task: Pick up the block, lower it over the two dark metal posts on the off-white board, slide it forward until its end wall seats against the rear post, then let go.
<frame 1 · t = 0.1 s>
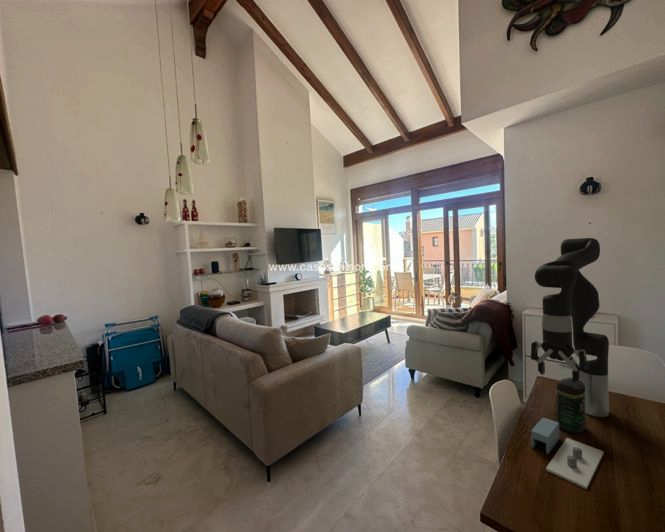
hand: (558, 377, 95), 29 cm above the table, fingers open, 8 cm apart
block: (545, 442, 107), on the table
board: (575, 461, 97), on the table
coffee jar: (571, 427, 114), on the table
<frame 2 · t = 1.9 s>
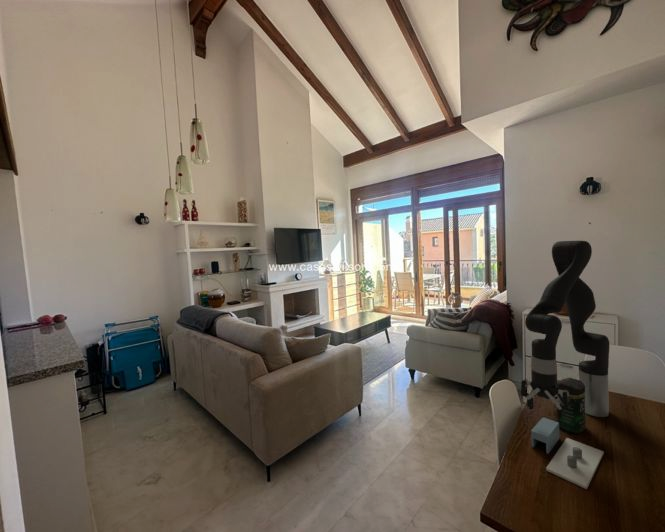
hand: (544, 413, 106), 11 cm above the table, fingers open, 8 cm apart
nothing on the table moved.
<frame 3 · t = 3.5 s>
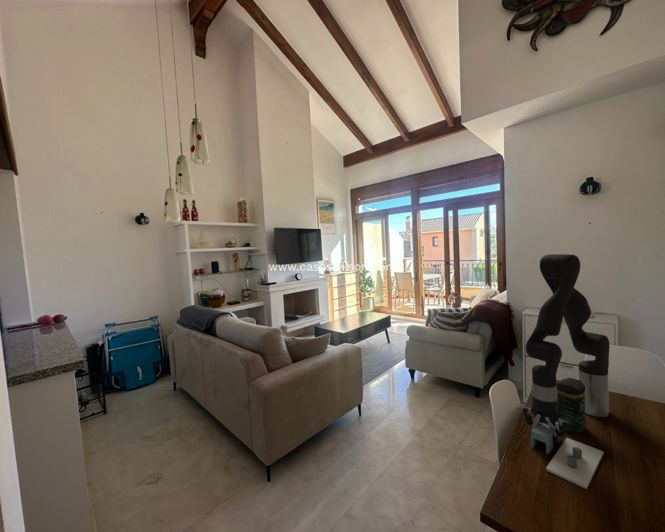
hand: (545, 440, 107), 1 cm above the table, fingers closed on block, 5 cm apart
block: (545, 442, 107), on the table, touching gripper
everything else where it was.
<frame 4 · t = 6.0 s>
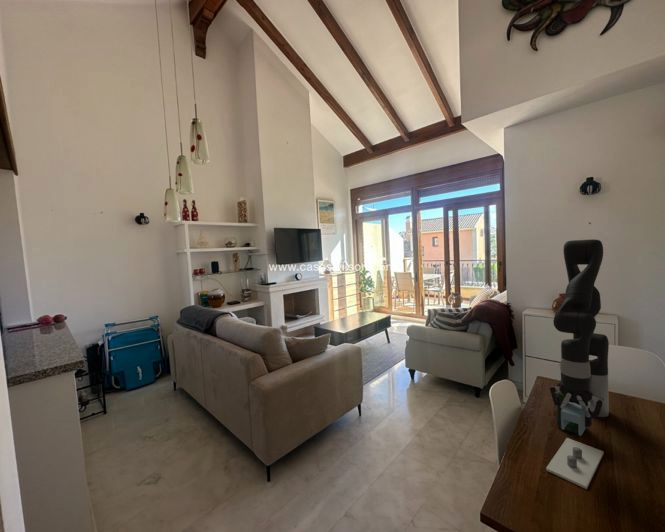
hand: (576, 422, 97), 13 cm above the table, fingers closed on block, 5 cm apart
block: (576, 424, 97), point 12 cm above the table, touching gripper
everything else where it was.
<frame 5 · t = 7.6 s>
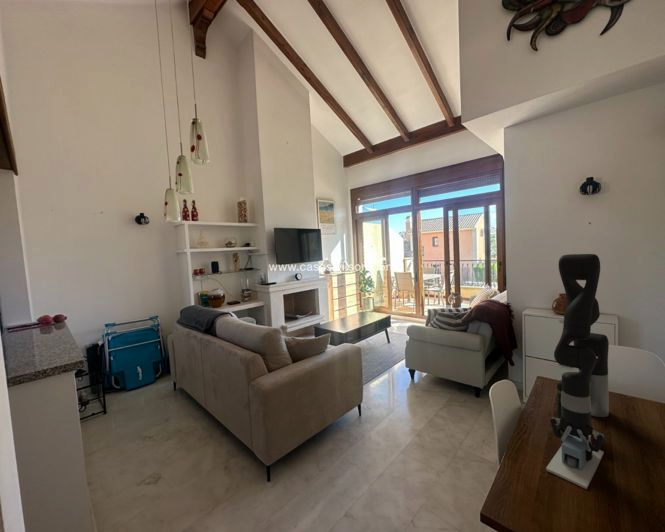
hand: (576, 455, 98), 2 cm above the table, fingers closed on block, 5 cm apart
block: (576, 457, 98), point 1 cm above the table, touching gripper
everything else where it was.
when the fingers open (2 cm above the table, at t = 8.7 s): block stays where it is, resting on board.
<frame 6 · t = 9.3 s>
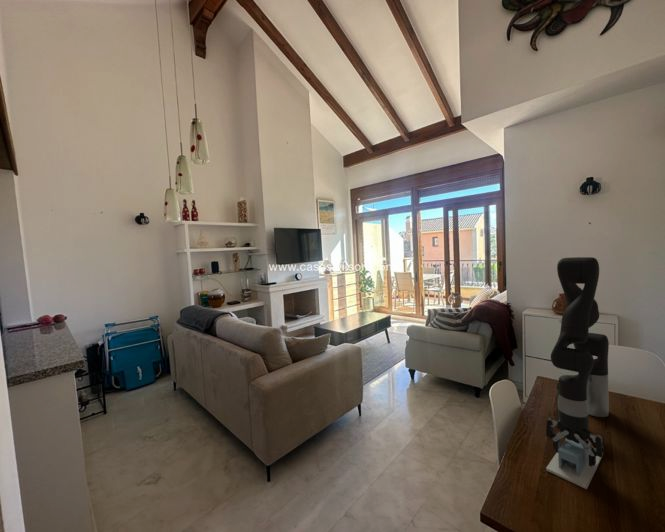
hand: (573, 458, 95), 2 cm above the table, fingers open, 8 cm apart
block: (574, 462, 96), point 1 cm above the table, touching board
everything else where it was.
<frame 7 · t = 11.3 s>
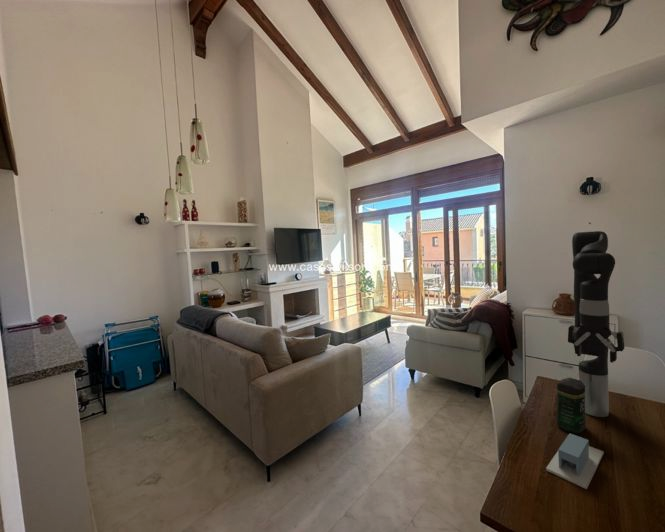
hand: (595, 358, 101), 32 cm above the table, fingers open, 8 cm apart
nothing on the table moved.
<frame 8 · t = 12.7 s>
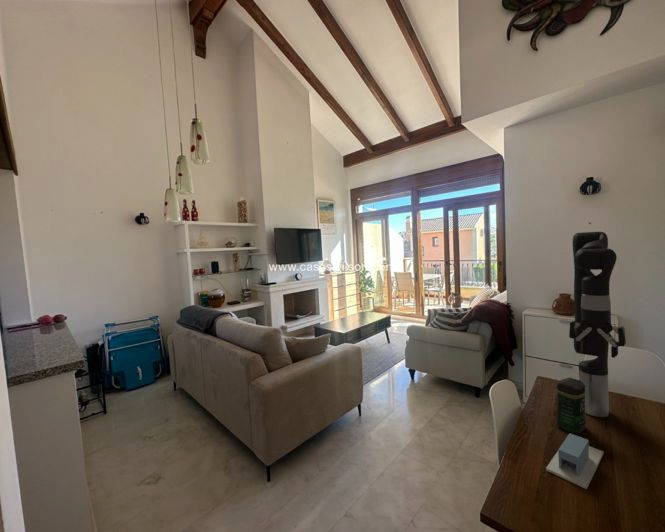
hand: (596, 354, 101), 33 cm above the table, fingers open, 8 cm apart
nothing on the table moved.
at the end: block 0.0 cm from the target spot on the board, point 0.8 cm above the board's base; block tilted 0°; the gripper is holding nothing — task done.
